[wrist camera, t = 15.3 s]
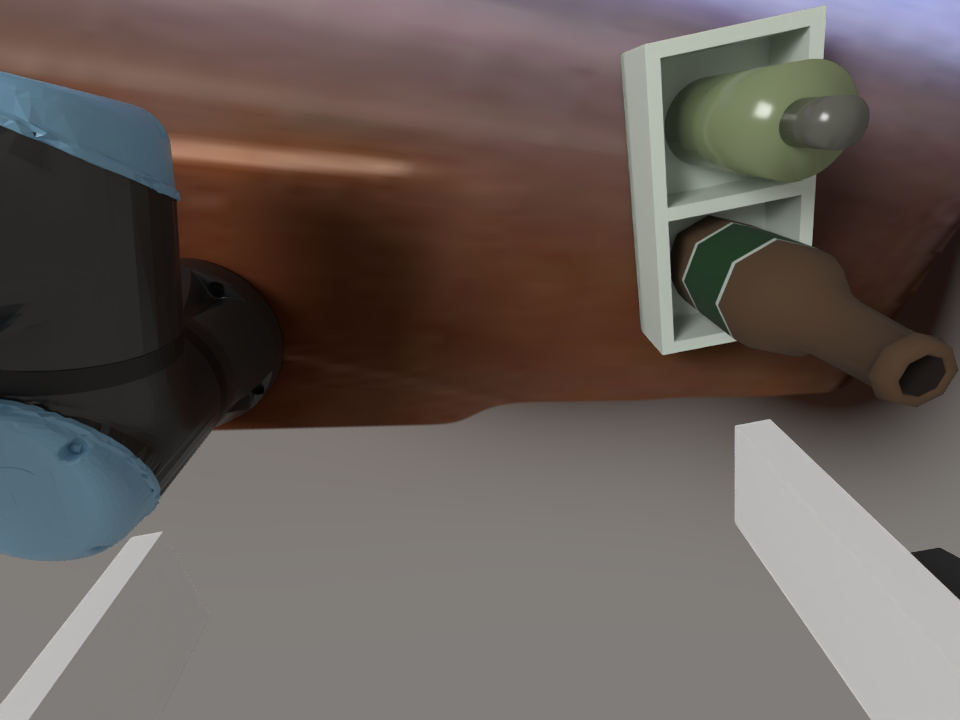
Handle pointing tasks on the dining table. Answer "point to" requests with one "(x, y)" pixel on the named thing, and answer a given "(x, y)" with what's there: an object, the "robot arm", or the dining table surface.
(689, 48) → the caddy
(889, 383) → the beer bottle
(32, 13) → the dining table surface
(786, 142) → the olive bottle
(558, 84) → the dining table surface
